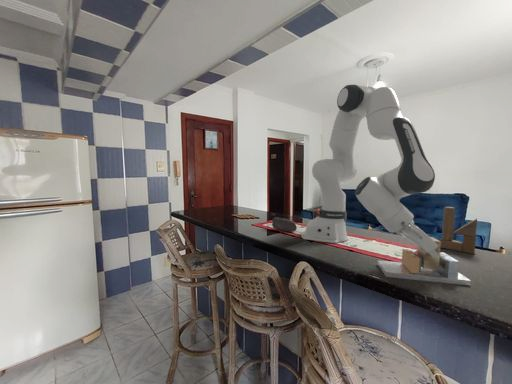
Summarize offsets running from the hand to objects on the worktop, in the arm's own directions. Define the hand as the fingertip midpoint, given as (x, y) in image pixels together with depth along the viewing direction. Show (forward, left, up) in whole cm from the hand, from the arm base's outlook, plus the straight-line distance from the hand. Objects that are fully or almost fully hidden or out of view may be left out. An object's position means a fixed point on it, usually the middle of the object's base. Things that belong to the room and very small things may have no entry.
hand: (430, 251), depth 72 cm
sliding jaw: (-5, 0, -6) cm, 8 cm away
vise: (-3, 0, -8) cm, 8 cm away
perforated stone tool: (-52, +44, -8) cm, 68 cm away
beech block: (-1, 0, -5) cm, 5 cm away
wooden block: (+23, +31, -8) cm, 40 cm away
